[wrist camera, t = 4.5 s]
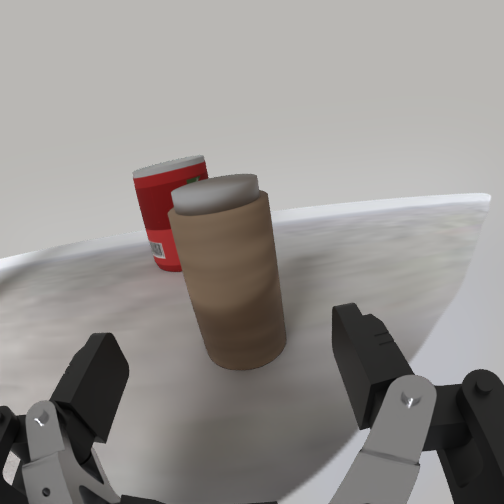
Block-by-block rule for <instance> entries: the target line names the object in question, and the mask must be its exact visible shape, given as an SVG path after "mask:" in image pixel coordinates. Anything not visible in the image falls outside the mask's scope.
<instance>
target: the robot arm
mask: <svg viewBox="0 0 504 504" xmlns="http://www.w3.org/2000/svg"><path fill="white" fill-rule="evenodd" d="M332 348H333V353H334V357H335V360H336V363H337V365H338V368H339V371H340V374H341V376H342V379H343V382H344V385H345V388H346V391H347V394H348V396H349V399H350V402H351V405H352V408H353V411H354V414H355V417H356V420H357V423H358V426H359V429H360V430H363V429H366V428H370V429H371V431H370V433H369V435H368V437H367V440H366V442H365V444H364V446H363V447H362V449H361V450H360V451H359V453H358V454H357V456H356V458H355V460H354V462H353V464H352V466H351V468H350V469H349V471H348V473H347V474H346V476H345V478H344V480H343V482H342V483H341V485H340V486H339V488H338V490H337V492H336V494H335V495H334V496H333V498H332V500H331V501H330V503H329V504H406V503H407V501H408V498H409V496H410V494H411V491H412V489H413V486H414V484H415V481H416V479H417V476H418V473H419V469H420V464H419V458H420V455H421V452H422V451H431V450H436V451H437V454H438V456H439V459H440V462H441V465H442V467H443V470H444V473H445V476H446V479H447V482H448V485H449V488H450V492H451V495H452V498H453V501H454V504H504V385H503V383H502V382H501V380H500V379H499V378H498V377H497V375H495V374H494V373H493V372H490V371H488V370H484V369H479V370H474V371H472V372H470V373H469V374H468V375H467V376H466V377H465V378H464V380H463V382H462V384H455V385H444V386H435V385H433V384H432V383H431V382H430V381H429V380H428V379H426V378H424V377H422V376H418V375H415V374H414V373H413V371H412V369H411V368H410V366H409V364H408V362H407V361H406V359H405V357H404V356H403V354H402V352H401V351H400V349H399V348H398V346H397V344H396V343H395V342H394V339H393V338H392V336H391V335H390V334H389V331H388V330H387V328H386V327H385V325H384V324H383V322H382V321H381V320H379V319H378V318H376V317H375V316H373V315H372V314H368V315H364V316H363V315H362V314H361V312H360V310H359V309H358V307H357V305H356V304H355V303H349V304H344V305H339V306H334V307H333V309H332ZM69 365H70V366H68V367H67V369H66V371H65V374H63V376H62V378H61V380H60V381H59V383H58V385H57V387H56V389H55V391H54V392H53V394H52V396H51V398H50V400H49V401H40V402H38V403H36V404H34V405H33V406H32V407H31V408H30V409H29V411H28V412H27V415H19V416H16V415H15V414H14V413H13V412H12V411H11V410H10V408H9V407H7V406H0V504H165V503H162V502H159V501H156V500H152V499H145V498H138V497H133V496H127V495H121V498H120V497H119V496H118V495H117V494H116V493H115V491H114V490H113V489H112V487H111V485H110V483H109V481H108V479H107V476H106V474H105V472H104V470H103V467H102V465H101V463H100V460H99V458H98V456H97V453H96V451H95V449H94V448H93V447H92V445H93V442H99V443H105V444H106V441H107V438H108V435H109V432H110V429H111V426H112V423H113V420H114V417H115V414H116V411H117V408H118V405H119V403H120V400H121V397H122V394H123V391H124V389H125V386H126V383H127V380H128V378H129V365H128V362H127V360H126V358H125V357H124V355H123V353H122V351H121V349H120V347H119V345H118V343H117V341H116V339H115V337H114V335H113V334H112V333H93V334H92V335H91V336H90V337H89V339H88V341H87V342H86V344H85V346H84V347H82V348H81V349H80V350H79V351H78V352H77V353H76V354H75V355H74V357H73V359H72V360H71V362H70V364H69ZM10 450H11V451H12V452H13V453H14V454H15V455H16V456H17V457H18V458H20V459H21V460H20V463H19V466H18V468H17V471H16V474H15V477H14V480H13V483H12V485H10V484H8V483H7V482H6V481H5V480H4V478H3V474H2V471H3V468H4V465H5V462H6V460H7V457H8V455H9V452H10ZM250 504H278V503H277V501H275V502H264V503H250Z"/></svg>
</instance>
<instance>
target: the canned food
mask: <svg viewBox="0 0 504 504" xmlns="http://www.w3.org/2000/svg"><path fill="white" fill-rule="evenodd" d="M205 179H208V174H207V169H206V163H205V160H204V156H202V155H198V156H191V157H186V158H181V159H176V160H172V161H167V162H164V163H160V164H155V165H152V166H149V167H145V168H142V169H139V170H136V171H134V172H133V180H134V184H135V190H136V194H137V198H138V202H139V206H140V210H141V213H142V217H143V221H144V224H145V228H146V232H147V236H148V239H149V243H150V246H151V249H152V253H153V256H154V259H155V262H156V263H157V265H158V266H159V267H160V268H161V269H163V270H165V271H170V272H181V271H182V267H181V264H180V260H179V256H178V253H177V249H176V245H175V241H174V237H173V233H172V230H171V225H170V221H169V217H168V212H169V211H170V210H171V209H172V208H173V207H174V204H173V200H172V195H171V192H172V191H173V190H175V189H177V188H179V187H181V186H184V185H187V184H190V183H193V182H197V181H201V180H205Z"/></svg>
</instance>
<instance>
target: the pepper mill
mask: <svg viewBox="0 0 504 504" xmlns="http://www.w3.org/2000/svg"><path fill="white" fill-rule="evenodd" d="M171 195H172V200H173V204H174V207H173V208H172V209H171V210H170V211H169V212H168V217H169V221H170V225H171V230H172V233H173V237H174V241H175V245H176V249H177V253H178V256H179V260H180V264H181V267H182V271H183V275H184V278H185V282H186V285H187V289H188V292H189V295H190V299H191V302H192V305H193V309H194V312H195V315H196V318H197V322H198V325H199V328H200V331H201V334H202V337H203V340H204V343H205V346H206V349H207V352H208V355H209V357H210V359H211V360H212V361H213V362H214V363H216V364H217V365H219V366H221V367H223V368H226V369H231V370H249V369H254V368H258V367H261V366H263V365H265V364H268V363H269V362H271V361H272V360H274V359H275V358H276V357H277V356H278V355H279V354H280V353H281V352H282V351H283V349H284V347H285V344H286V332H285V323H284V315H283V306H282V298H281V290H280V282H279V274H278V266H277V258H276V251H275V243H274V236H273V228H272V221H271V214H270V207H269V200H268V194H267V193H266V192H264V191H261V190H259V186H258V180H257V176H256V175H254V174H235V175H228V176H227V175H226V176H221V177H214V178H209V179H205V180H201V181H197V182H193V183H190V184H187V185H184V186H181V187H179V188H177V189H175V190H173V191H172V192H171Z"/></svg>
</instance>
